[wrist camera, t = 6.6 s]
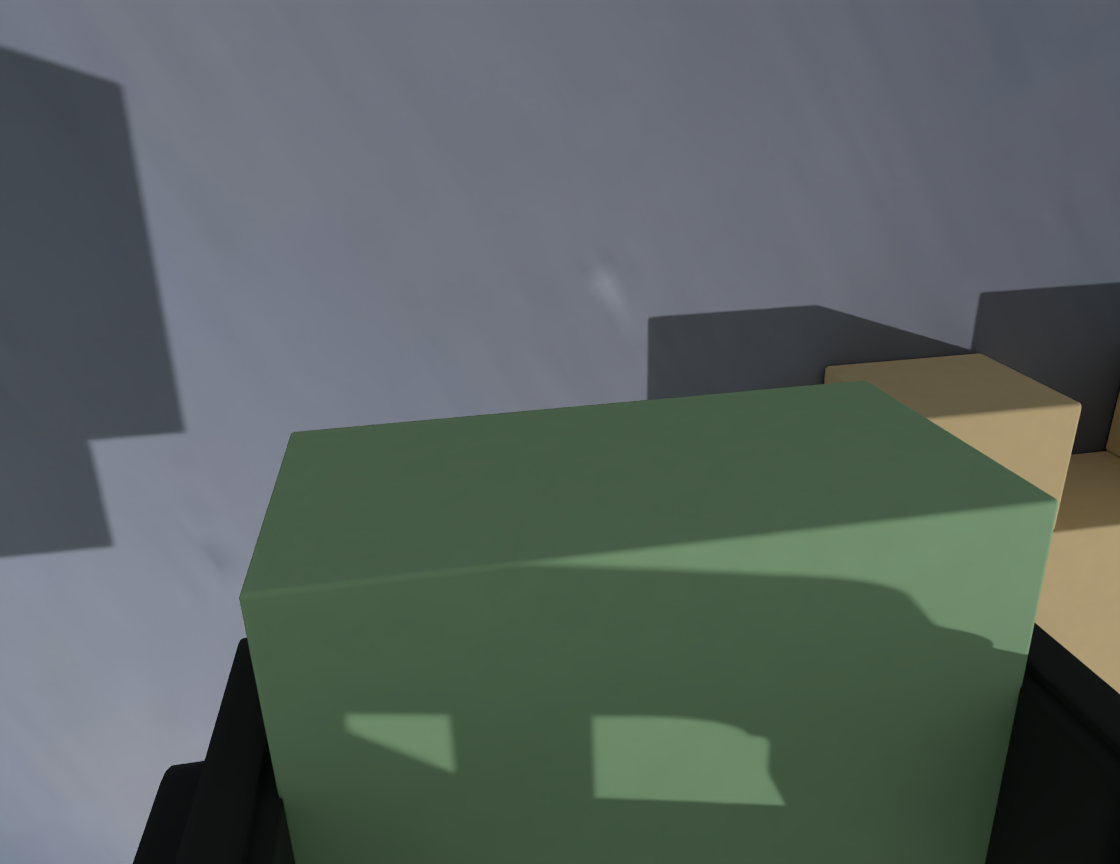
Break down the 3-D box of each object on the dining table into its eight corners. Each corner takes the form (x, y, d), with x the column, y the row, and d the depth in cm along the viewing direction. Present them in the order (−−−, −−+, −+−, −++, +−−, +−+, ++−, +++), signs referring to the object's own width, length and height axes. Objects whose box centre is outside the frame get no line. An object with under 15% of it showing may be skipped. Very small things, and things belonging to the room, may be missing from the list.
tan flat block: (791, 704, 24) (850, 801, 21) (823, 364, 20) (901, 420, 17) (1173, 651, 26) (1280, 733, 23) (1271, 327, 22) (1418, 371, 19)
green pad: (382, 1006, 13) (377, 1295, 10) (290, 430, 10) (236, 595, 7) (809, 927, 14) (926, 1166, 11) (866, 378, 11) (1061, 500, 8)
